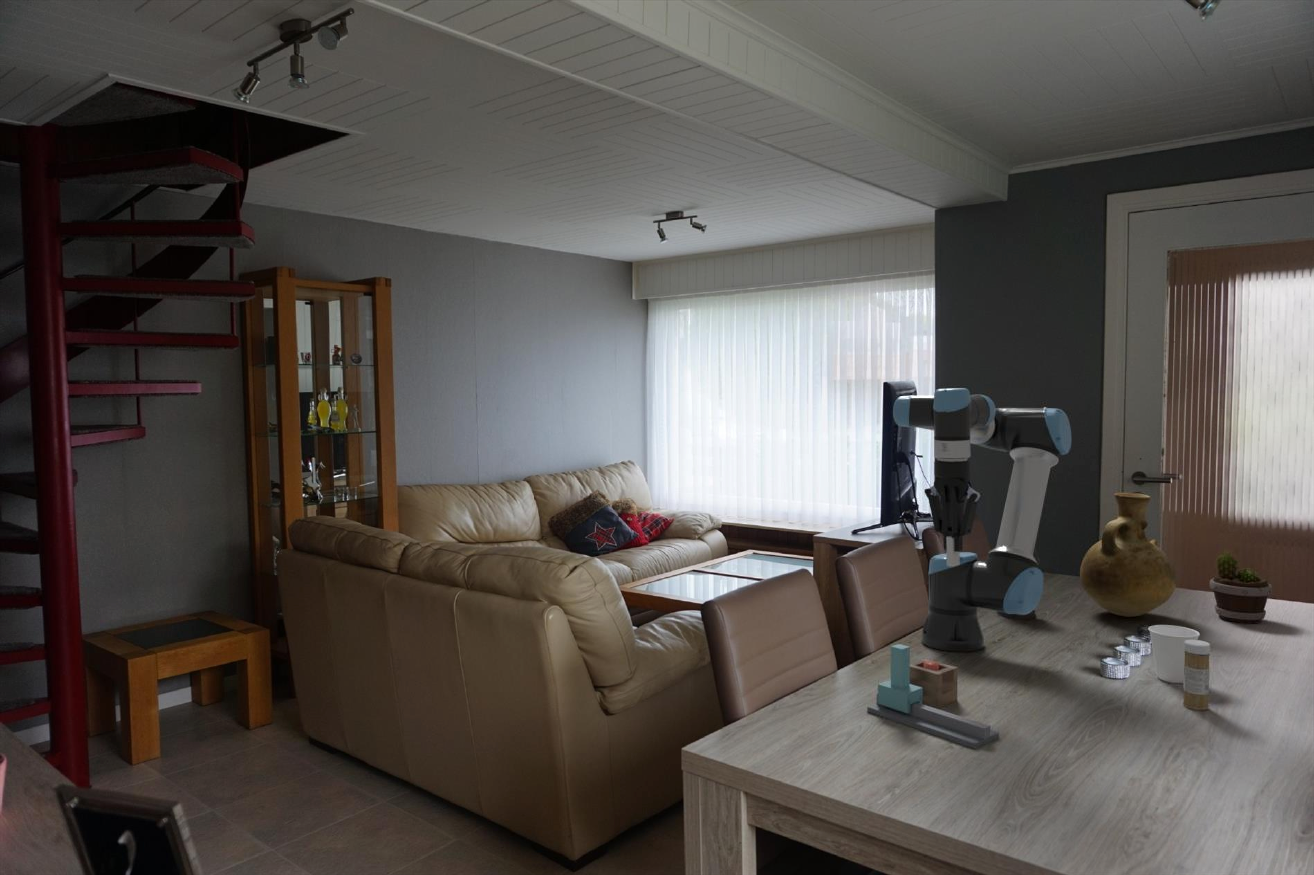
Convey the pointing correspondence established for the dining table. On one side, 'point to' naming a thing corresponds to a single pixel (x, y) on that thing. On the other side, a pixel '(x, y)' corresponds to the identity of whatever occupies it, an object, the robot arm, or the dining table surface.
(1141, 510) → the vase
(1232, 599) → the flowerpot
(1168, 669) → the cup
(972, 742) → the rail bed
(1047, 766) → the dining table surface
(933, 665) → the cylinder
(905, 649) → the carriage
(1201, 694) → the sprinkles bottle
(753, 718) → the dining table surface
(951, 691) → the open wooden box
